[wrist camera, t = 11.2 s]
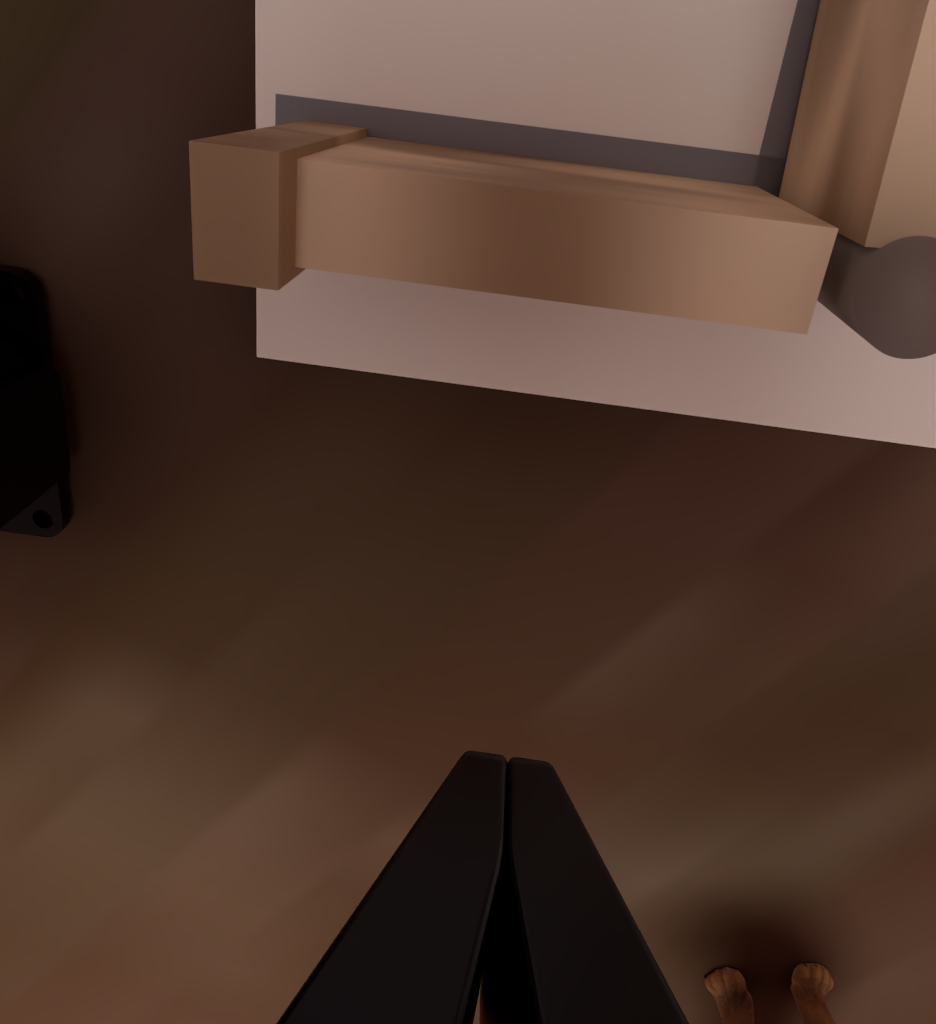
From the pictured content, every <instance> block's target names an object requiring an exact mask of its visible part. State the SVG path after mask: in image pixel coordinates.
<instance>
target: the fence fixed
mask: <svg viewBox="0 0 936 1024" xmlns="http://www.w3.org/2000/svg"><path fill="white" fill-rule="evenodd" d="M189 161H190V188H191V215H192V242H193V269H194V280H202V281H209V282H217V283H224V284H232V285H239V286H247V287H255V288H262V289H270V290H277V291H278V290H280V289H281V288H282V287H283V286H285V285H286V284H287V283H289V282H290V281H291V280H292V279H294V278H295V277H296V276H297V275H299V274H300V273H301V272H303V271H304V270H305V269H313V270H321V271H329V272H336V273H344V274H351V275H359V276H366V277H374V278H382V279H389V280H397V281H404V282H412V283H420V284H427V285H435V286H442V287H450V288H458V289H465V290H473V291H480V292H488V293H495V294H503V295H511V296H518V297H526V298H533V299H541V300H549V301H556V302H564V303H571V304H579V305H586V306H594V307H602V308H609V309H617V310H624V311H632V312H640V313H647V314H655V315H662V316H670V317H678V318H685V319H693V320H700V321H708V322H715V323H723V324H731V325H738V326H746V327H753V328H761V329H769V330H776V331H784V332H791V333H799V334H807V332H808V329H809V326H810V322H811V319H812V316H813V312H814V309H815V306H816V302H817V299H818V296H819V293H820V289H821V286H822V283H823V279H824V276H825V273H826V269H827V266H828V263H829V259H830V256H831V253H832V249H833V246H834V243H835V239H836V236H837V233H838V229H839V228H837V227H835V226H833V225H831V224H829V223H827V222H825V221H823V220H821V219H819V218H817V217H815V216H813V215H811V214H809V213H807V212H805V211H804V210H802V209H800V208H798V207H796V206H794V205H792V204H790V203H788V202H786V201H784V200H782V199H780V198H778V197H776V196H774V195H772V194H770V193H768V192H766V191H765V190H763V189H761V188H759V187H756V186H748V185H740V184H733V183H725V182H717V181H709V180H701V179H694V178H686V177H678V176H670V175H662V174H654V173H647V172H639V171H631V170H623V169H615V168H608V167H600V166H592V165H584V164H576V163H569V162H561V161H553V160H545V159H537V158H529V157H522V156H514V155H506V154H498V153H490V152H483V151H475V150H467V149H459V148H451V147H443V146H436V145H428V144H420V143H412V142H404V141H397V140H389V139H381V138H373V137H367V128H361V127H353V126H345V125H338V124H330V123H322V122H314V121H300V122H294V123H288V124H282V125H276V126H271V127H265V128H259V129H253V130H247V131H242V132H236V133H230V134H224V135H218V136H212V137H207V138H201V139H195V140H189Z"/></svg>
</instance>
